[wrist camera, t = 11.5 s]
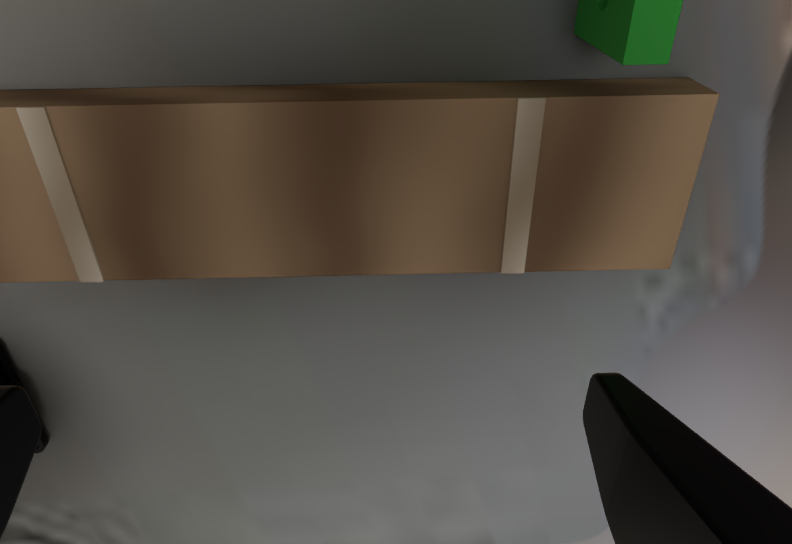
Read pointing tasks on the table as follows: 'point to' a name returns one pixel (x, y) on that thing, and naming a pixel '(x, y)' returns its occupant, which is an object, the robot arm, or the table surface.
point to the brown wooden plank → (347, 178)
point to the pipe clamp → (629, 28)
